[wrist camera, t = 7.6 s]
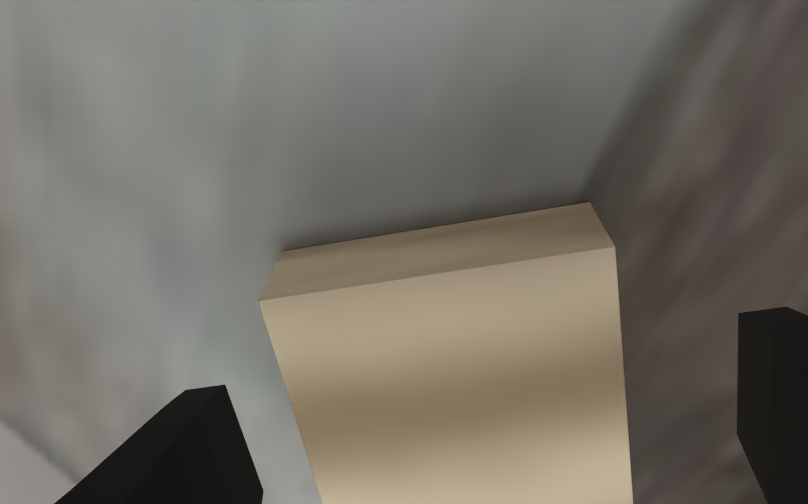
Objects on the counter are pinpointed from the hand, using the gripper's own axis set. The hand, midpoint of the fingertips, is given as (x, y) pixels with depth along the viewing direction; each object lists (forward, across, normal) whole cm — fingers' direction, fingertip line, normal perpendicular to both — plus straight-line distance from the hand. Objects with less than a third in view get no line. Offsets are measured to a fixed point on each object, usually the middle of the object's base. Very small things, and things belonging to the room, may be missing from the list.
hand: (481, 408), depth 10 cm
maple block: (+10, +1, +6) cm, 12 cm away
